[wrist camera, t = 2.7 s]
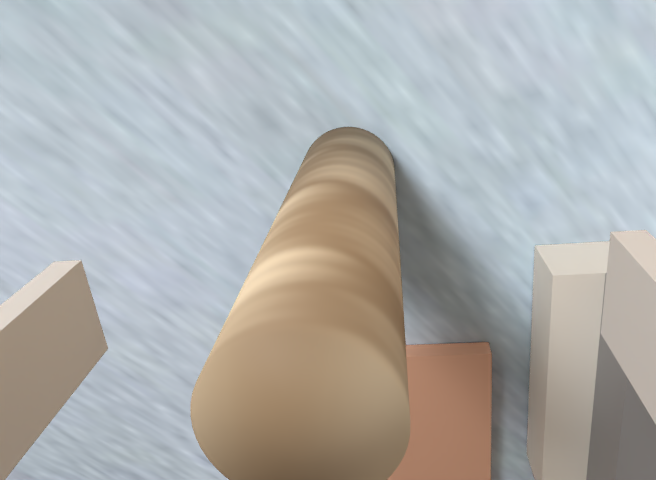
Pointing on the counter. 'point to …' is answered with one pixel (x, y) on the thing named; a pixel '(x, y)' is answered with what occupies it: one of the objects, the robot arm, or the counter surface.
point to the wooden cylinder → (316, 332)
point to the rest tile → (448, 412)
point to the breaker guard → (580, 377)
